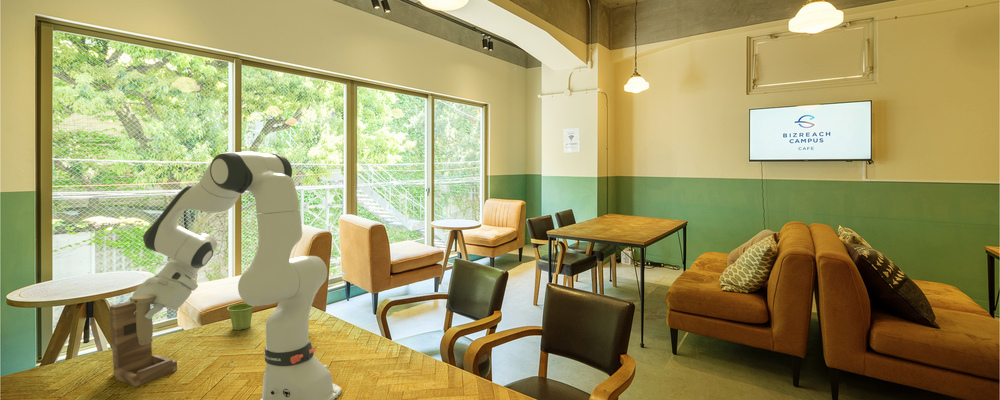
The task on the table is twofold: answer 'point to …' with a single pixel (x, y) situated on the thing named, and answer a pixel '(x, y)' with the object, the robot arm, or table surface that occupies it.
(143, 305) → the handle
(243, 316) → the plant pot
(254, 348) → the table surface
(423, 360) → the table surface
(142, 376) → the wooden frame stand
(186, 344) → the table surface
